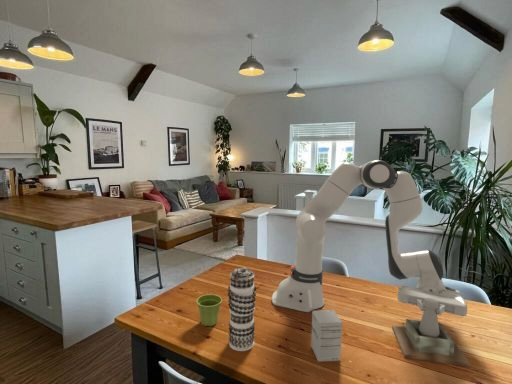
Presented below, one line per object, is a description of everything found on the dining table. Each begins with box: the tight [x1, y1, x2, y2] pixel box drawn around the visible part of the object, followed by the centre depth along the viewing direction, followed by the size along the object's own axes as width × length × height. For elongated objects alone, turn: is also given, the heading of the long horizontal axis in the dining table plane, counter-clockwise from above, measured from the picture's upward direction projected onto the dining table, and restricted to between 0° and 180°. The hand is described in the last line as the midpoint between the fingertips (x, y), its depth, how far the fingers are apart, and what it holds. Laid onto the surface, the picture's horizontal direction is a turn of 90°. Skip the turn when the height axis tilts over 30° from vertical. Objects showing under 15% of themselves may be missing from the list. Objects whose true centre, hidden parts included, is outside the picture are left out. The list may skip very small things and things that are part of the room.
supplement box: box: [310, 309, 343, 362], centre depth 90 cm, size 7×7×13 cm
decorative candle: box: [227, 267, 257, 352], centre depth 94 cm, size 9×9×25 cm
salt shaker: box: [419, 298, 440, 338], centre depth 94 cm, size 6×6×13 cm
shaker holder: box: [391, 318, 472, 368], centre depth 95 cm, size 18×16×6 cm
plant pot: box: [195, 293, 223, 327], centre depth 107 cm, size 9×9×9 cm
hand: (430, 310), depth 93 cm, fingers closed on salt shaker, 3 cm apart
